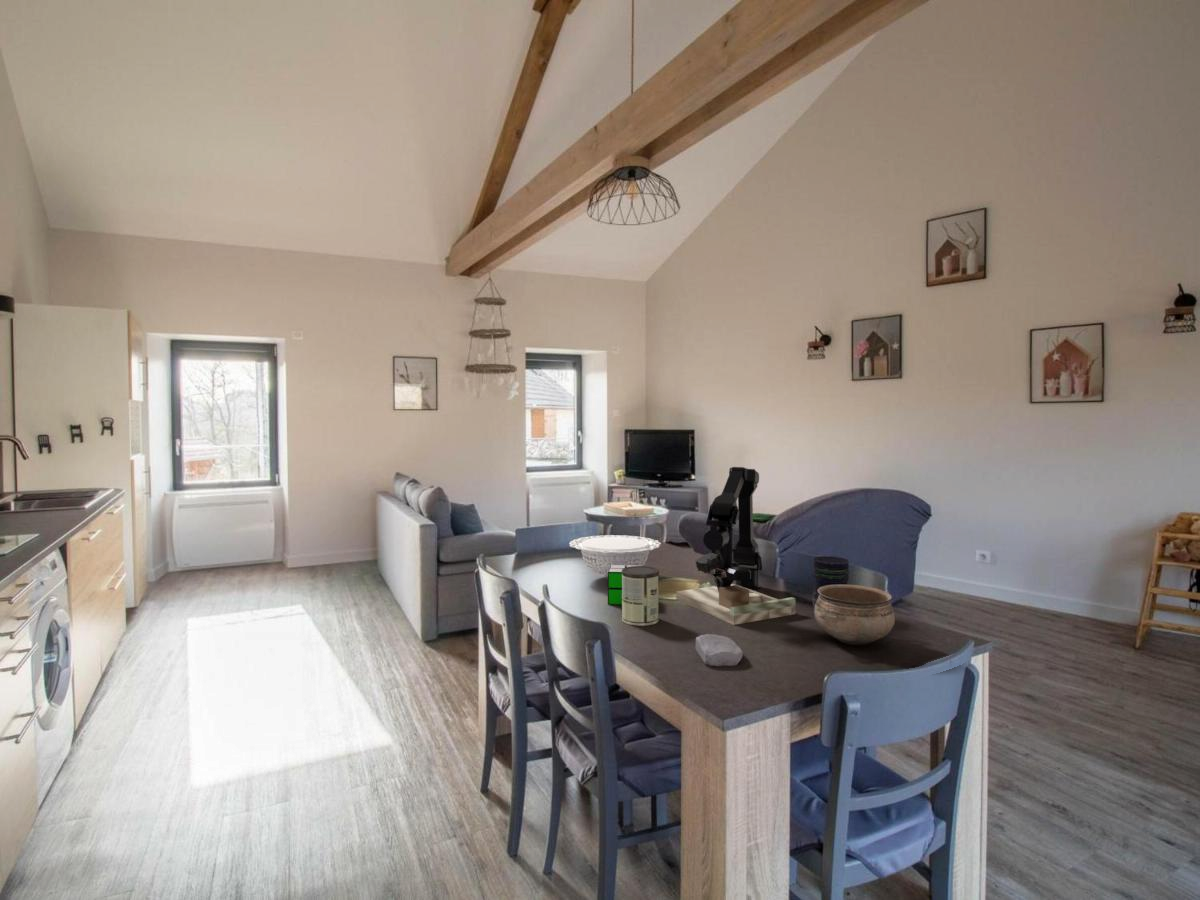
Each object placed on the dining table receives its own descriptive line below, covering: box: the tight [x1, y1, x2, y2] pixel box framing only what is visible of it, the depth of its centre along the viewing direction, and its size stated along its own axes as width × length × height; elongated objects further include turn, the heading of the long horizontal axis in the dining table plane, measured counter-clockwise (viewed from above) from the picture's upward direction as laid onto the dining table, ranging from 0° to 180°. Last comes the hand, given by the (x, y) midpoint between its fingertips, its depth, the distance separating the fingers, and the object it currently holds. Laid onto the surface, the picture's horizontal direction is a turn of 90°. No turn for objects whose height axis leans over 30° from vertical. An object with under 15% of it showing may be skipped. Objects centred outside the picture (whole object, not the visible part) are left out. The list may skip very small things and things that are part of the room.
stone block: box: [695, 633, 743, 667], centre depth 157 cm, size 12×5×10 cm
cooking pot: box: [813, 584, 896, 646], centre depth 168 cm, size 25×19×12 cm
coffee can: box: [621, 565, 660, 627], centre depth 185 cm, size 10×10×14 cm
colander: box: [568, 534, 662, 577], centre depth 232 cm, size 32×32×13 cm
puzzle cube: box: [607, 564, 638, 606], centre depth 205 cm, size 10×10×10 cm
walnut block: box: [719, 585, 749, 609], centre depth 191 cm, size 6×6×5 cm
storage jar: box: [812, 555, 850, 612], centre depth 195 cm, size 10×10×15 cm
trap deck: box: [675, 583, 797, 626], centre depth 199 cm, size 22×28×4 cm
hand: (722, 597), depth 195 cm, fingers closed
